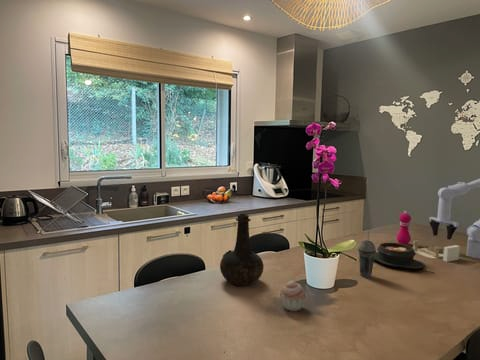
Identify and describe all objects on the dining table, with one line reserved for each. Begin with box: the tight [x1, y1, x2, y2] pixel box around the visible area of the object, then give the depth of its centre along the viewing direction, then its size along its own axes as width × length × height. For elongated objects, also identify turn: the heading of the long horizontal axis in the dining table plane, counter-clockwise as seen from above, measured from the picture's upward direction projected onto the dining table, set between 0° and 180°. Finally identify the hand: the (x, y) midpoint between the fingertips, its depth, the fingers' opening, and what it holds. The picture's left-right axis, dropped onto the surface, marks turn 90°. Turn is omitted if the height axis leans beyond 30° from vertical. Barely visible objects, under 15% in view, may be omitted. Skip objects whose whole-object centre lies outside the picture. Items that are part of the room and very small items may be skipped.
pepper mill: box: [396, 210, 412, 246], centre depth 204 cm, size 7×7×20 cm
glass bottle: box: [219, 213, 264, 287], centre depth 149 cm, size 18×18×28 cm
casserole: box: [374, 242, 425, 270], centre depth 175 cm, size 25×19×8 cm
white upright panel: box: [442, 244, 461, 262], centre depth 179 cm, size 2×9×7 cm, turn 116°
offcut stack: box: [427, 245, 444, 253], centre depth 192 cm, size 4×6×2 cm
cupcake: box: [279, 279, 307, 312], centre depth 128 cm, size 9×9×10 cm
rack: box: [412, 240, 444, 260], centre depth 190 cm, size 15×14×6 cm
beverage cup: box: [358, 229, 377, 279], centre depth 158 cm, size 7×7×20 cm
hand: (442, 237), depth 189 cm, fingers open, 7 cm apart
